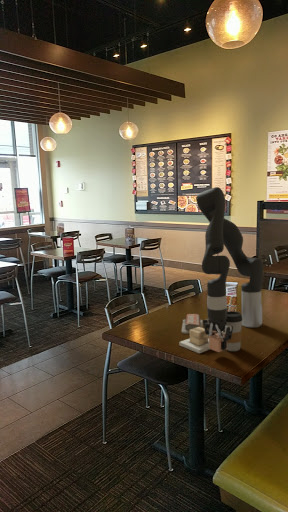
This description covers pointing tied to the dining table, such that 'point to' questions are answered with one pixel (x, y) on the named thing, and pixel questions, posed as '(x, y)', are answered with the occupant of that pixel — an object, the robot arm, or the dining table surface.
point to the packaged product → (191, 323)
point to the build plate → (194, 346)
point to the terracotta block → (215, 342)
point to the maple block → (198, 336)
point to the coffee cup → (234, 330)
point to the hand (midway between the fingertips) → (218, 347)
